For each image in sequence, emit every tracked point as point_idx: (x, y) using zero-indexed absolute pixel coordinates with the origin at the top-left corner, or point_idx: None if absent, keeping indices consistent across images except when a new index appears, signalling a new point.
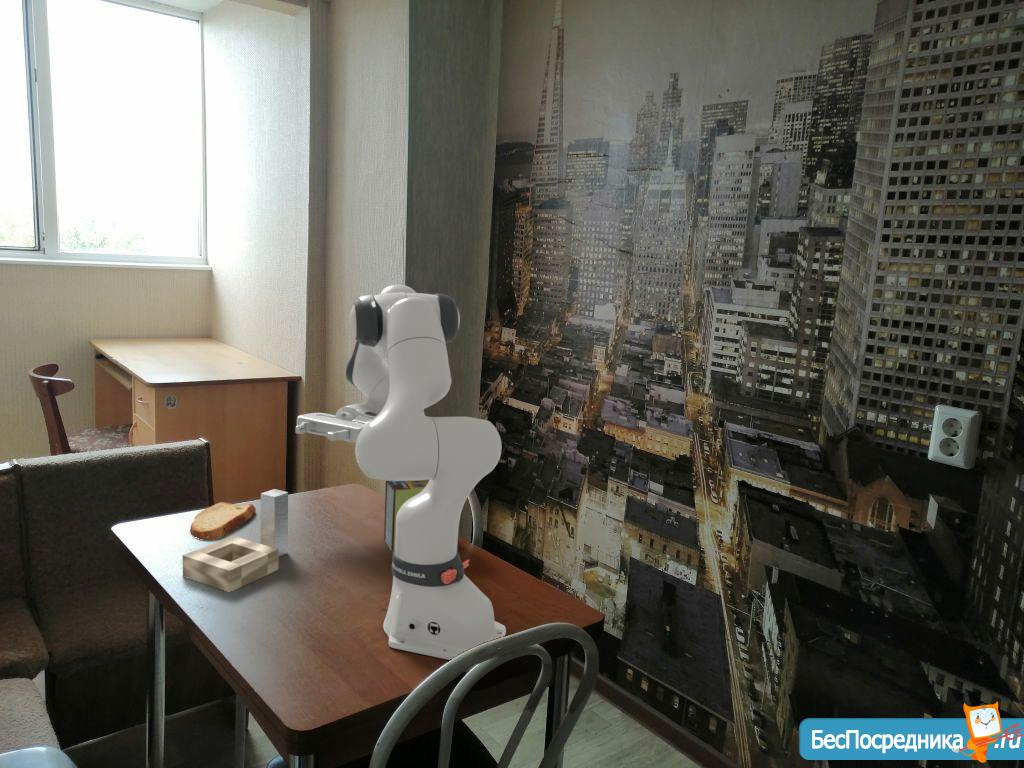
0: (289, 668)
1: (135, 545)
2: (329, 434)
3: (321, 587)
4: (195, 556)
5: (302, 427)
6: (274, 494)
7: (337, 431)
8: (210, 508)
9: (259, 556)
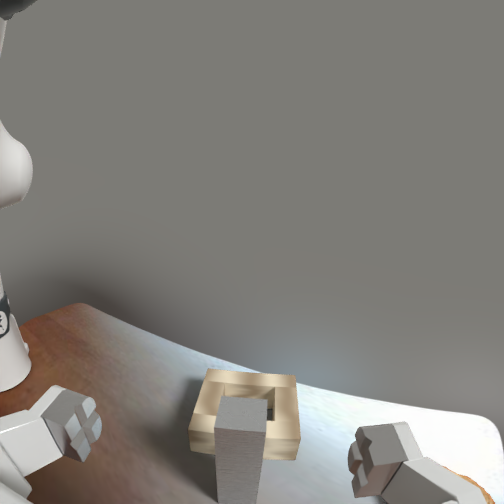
0: (96, 327)
1: (421, 411)
2: (78, 393)
3: (104, 423)
4: (278, 378)
5: (368, 447)
6: (234, 406)
7: (29, 422)
8: (487, 501)
9: (199, 403)
